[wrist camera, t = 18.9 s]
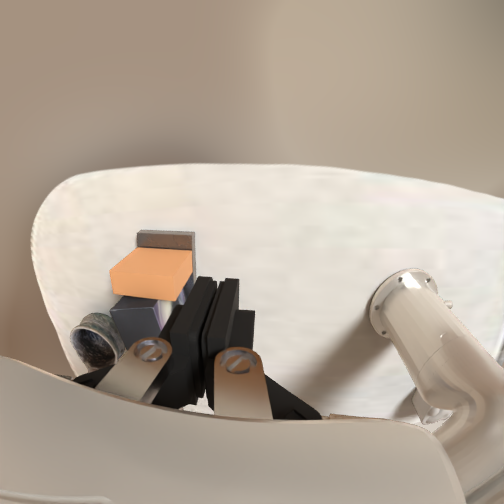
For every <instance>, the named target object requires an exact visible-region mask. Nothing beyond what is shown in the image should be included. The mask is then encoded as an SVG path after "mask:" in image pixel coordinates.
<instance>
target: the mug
mask: <svg viewBox="0 0 504 504" xmlns="http://www.w3.org/2000/svg"><path fill="white" fill-rule="evenodd" d="M70 340H71V343H72V345H73V347H74V349H75V350H76V351H77V354H78V356H79V357H80V359H81V360H82V362H83V363H84V364H85V365H86V366H87V368H88V372H89V373H90V372H93V371H96V370H99V369H102V368H105V367H108V366H111V365H114V364H116V363H117V362H118V359H119V358H120V357H121V356H122V354H123V352H124V350H125V345H124V343H123V341H122V339H121V336H120V334H119V332H118V329H117V327H116V325H115V322H114V320H113V319H112V318H110V317H109V316H107V315H105V314H100V313H91V314H89V315H87V316H85V317H84V318H83V320H82V321H81V323H80V325H79V326H76V327H75V328H74V329H73V330H72V331H71V334H70Z"/></svg>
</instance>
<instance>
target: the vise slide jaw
mask: <svg viewBox="0 0 504 504" xmlns="http://www.w3.org/2000/svg"><path fill="white" fill-rule="evenodd" d="M109 272H110V277H111V283H112V288H113V294H119V295H127V296H134V297H142V298H150V299H159V300H168V301H176V299H177V297H178V296H179V294H180V292H181V290H182V289H183V287H184V285H185V284H186V282H187V280H188V279H189V277H190V275H191V274H192V272H193V269H192V251H189V250H172V249H156V248H139V247H137V248H136V249H135V250H134V251H132V252H131V253H130V254H129V255H127V256H126V257H125V258H124V259H123V260H121V261H120V262H119V263H118V264H117V265H115V266H114V267H113V268H112V269H111V270H109Z"/></svg>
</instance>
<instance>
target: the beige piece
mask: <svg viewBox="0 0 504 504" xmlns="http://www.w3.org/2000/svg"><path fill="white" fill-rule="evenodd" d="M412 402H413V405H414V407H415V409H416V411H417V414H418V416H419V418H420V420H421V423H422V424H424V425H426V424H430V423H435V422H438V421H440V420H445V419H447V418H448V417H449V416H450V415H451V414H452V413H453V411H451V410H443V409H438V408H435V407H432V406H430V405H429V404H427V403H426V402H425V401H424V400H423V398H422V397H421V395H420V393H419V391H418V389H416V391H415V393H414V395H413V398H412Z"/></svg>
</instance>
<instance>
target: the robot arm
mask: <svg viewBox="0 0 504 504" xmlns="http://www.w3.org/2000/svg"><path fill="white" fill-rule="evenodd" d="M452 306H453V303H452V301H443V300H442V299H441V298H440V297H439V296H438V290H437V285H436V283H435V281H434V279H433V278H432V277H431V276H430V275H429V274H428V273H426V272H425V271H423V270H420V269H406V270H403V271H400V272H398V273H396V274H394V275H392V276H391V277H390V278H388V279H387V280H386V281H385V282H384V283H383V284H382V285H381V286H380V287H379V289H378V290H377V292H376V293H375V295H374V297H373V299H372V302H371V305H370V311H369V316H370V321H371V324H372V326H373V328H374V330H375V331H376V332H377V333H378V334H379V335H380V336H382V337H385V338H389V339H391V340H392V342H393V344H394V346H395V348H396V349H397V351H398V353H399V355H400V357H401V359H402V360H403V362H404V364H405V366H406V368H407V370H408V372H409V374H410V376H411V378H412V380H413V382H414V384H415V386H416V388H417V389H418V391H419V393H420V395H421V397H422V398H423V400H424V401H425V402H426V403H427V404H429V405H430V406H432V407H435V408H438V409H443V410H451V411H453V414H452V415H451V417H450V418H449V419H448V420H447V421H445V422H444V423H443V424H442V426H440V427H439V428H438V429H437V430H435V431H434V432H433V433H431V432H430V431H428V430H426V429H424V428H422V427H419V426H417V425H413V424H410V423H405V422H399V421H393V420H389V419H384V418H368V417H356V416H346V415H337V414H330V415H329V417H328V416H321V415H320V413H318V412H317V411H316V410H315V409H314V408H312V407H311V406H309V405H308V404H306V403H305V402H303V401H302V400H300V399H299V398H298V397H296V396H295V395H293V394H292V393H290V392H289V391H287V390H286V389H285V388H283V387H282V386H280V385H279V384H278V383H276V382H275V381H274V380H272V379H271V378H269V377H268V376H267V375H265V374H264V370H263V364H262V360H261V358H260V356H259V355H258V354H257V353H256V352H255V351H253V337H254V321H255V311H252V310H239V279H231V278H226V279H225V282H224V281H220V283H219V286H218V289H217V281H213V279H212V277H203V276H199V277H198V278H197V280H196V282H195V284H194V286H193V288H192V290H191V291H190V293H189V295H188V297H187V299H186V301H185V303H184V305H180V304H177V305H176V306H175V307H174V309H173V311H172V313H171V314H170V316H169V318H168V320H167V322H166V324H165V325H164V327H163V329H162V331H161V333H160V335H159V336H158V338H157V337H148V338H144V339H141V340H139V341H137V342H135V343H134V344H133V345H132V346H131V347H130V348H129V349H128V351H127V352H126V353H125V354H124V355H123V356H122V357H121V359H120V360H119V361H118V362H117V363H116V364H114V365H111V366H108V367H105V368H102V369H99V370H96V371H93V372H90V373H87V374H84V375H81V376H79V377H76V378H75V379H74V380H73V378H72V377H70V376H62V375H56V374H51V373H49V372H46V371H44V370H41V369H39V368H36V367H34V366H31V365H29V364H26V363H24V362H21V361H18V360H15V359H12V358H9V357H3V356H0V504H504V369H503V368H502V367H501V366H500V365H499V364H498V363H497V362H496V361H495V360H494V358H493V357H492V356H491V355H490V354H489V353H488V352H487V351H486V350H485V348H484V347H483V346H482V345H481V344H480V343H479V341H478V340H477V339H476V338H475V337H474V336H473V335H472V334H471V332H470V331H469V330H468V329H467V328H466V327H465V326H464V324H463V323H462V322H461V321H460V320H459V319H458V318H457V317H456V316H455V315H454V314H453V312H452V311H451V310H450V309H451V308H452ZM205 389H206V396H207V399H208V406H209V407H210V408H211V409H212V410H213V411H214V415H211V414H204V413H197V412H190V411H184V410H183V407H184V406H186V405H188V404H192V405H197V401H198V397H199V398H203V397H204V393H205Z"/></svg>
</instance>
